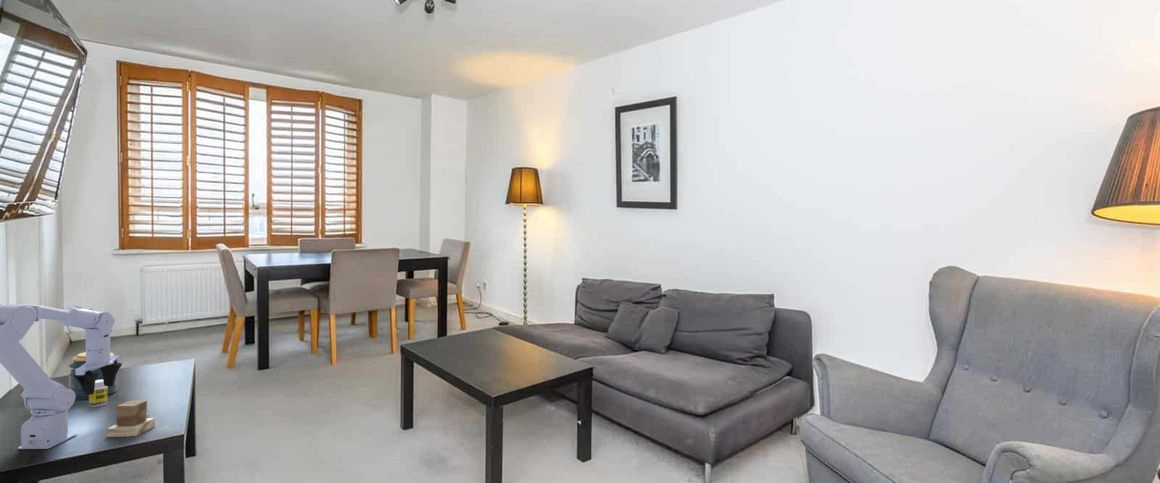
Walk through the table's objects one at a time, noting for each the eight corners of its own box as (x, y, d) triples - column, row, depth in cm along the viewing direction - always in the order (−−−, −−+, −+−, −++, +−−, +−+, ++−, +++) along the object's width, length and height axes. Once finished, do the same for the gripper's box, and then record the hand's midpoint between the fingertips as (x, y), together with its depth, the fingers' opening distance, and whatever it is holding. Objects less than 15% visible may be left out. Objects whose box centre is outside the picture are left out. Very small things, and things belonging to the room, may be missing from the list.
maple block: (135, 437, 155) (135, 428, 155) (106, 438, 154) (106, 428, 154) (154, 427, 163) (154, 418, 163) (127, 427, 162) (127, 418, 162)
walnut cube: (133, 425, 157) (134, 405, 157) (116, 425, 156) (117, 405, 156) (146, 419, 162) (146, 400, 162) (129, 419, 161) (130, 400, 161)
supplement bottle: (95, 407, 176) (95, 383, 176) (85, 406, 177) (85, 382, 177) (111, 403, 181) (111, 379, 180) (100, 401, 182) (100, 378, 181)
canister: (90, 401, 181) (90, 352, 181) (58, 398, 183) (58, 350, 182) (126, 389, 194) (126, 343, 194) (96, 387, 196) (96, 341, 195)
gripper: (92, 355, 157) (93, 398, 157) (129, 342, 171) (130, 382, 172) (67, 355, 156) (68, 398, 157) (106, 342, 170) (107, 382, 171)
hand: (99, 390), depth 164 cm, fingers open, 7 cm apart
